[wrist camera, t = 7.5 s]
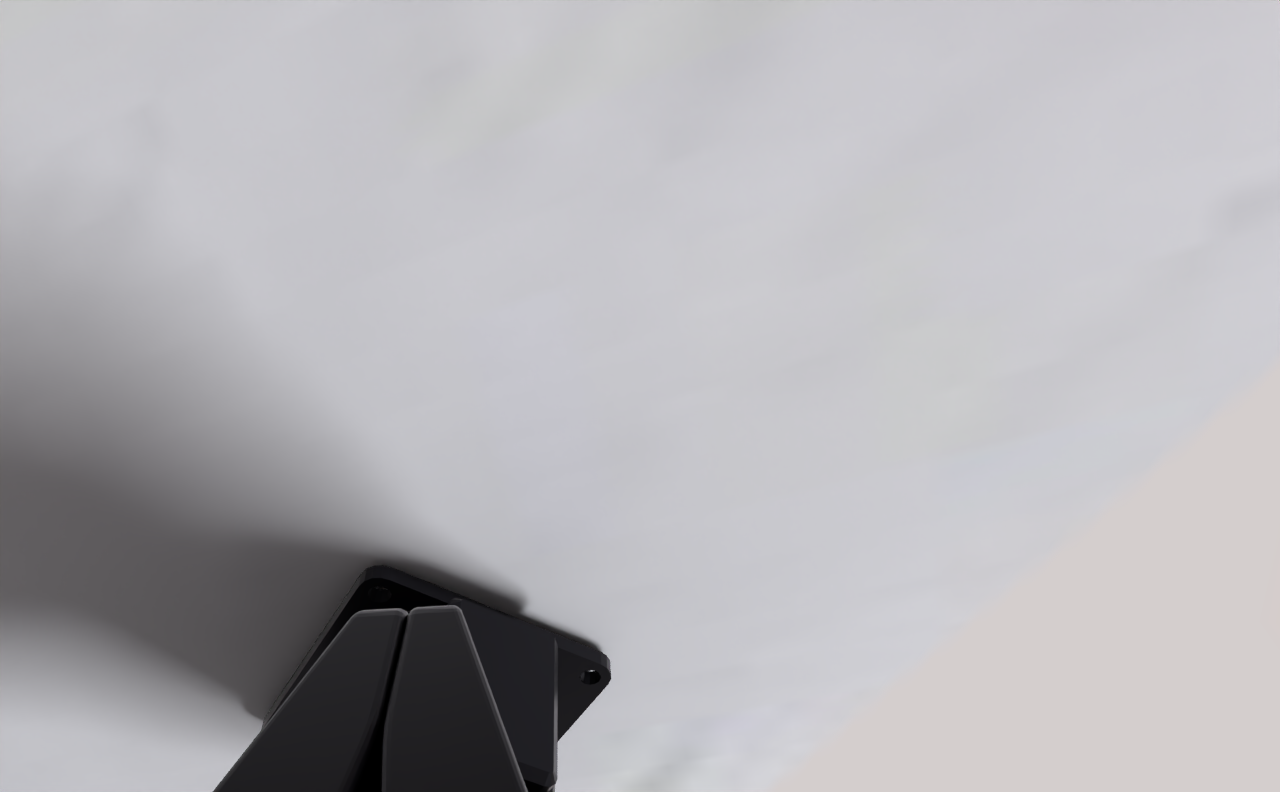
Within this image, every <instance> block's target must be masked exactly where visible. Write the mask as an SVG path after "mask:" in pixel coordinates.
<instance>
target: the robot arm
mask: <svg viewBox="0 0 1280 792" xmlns="http://www.w3.org/2000/svg"><path fill="white" fill-rule="evenodd" d="M375 586H383V587H386V588H387V589H386V590H379V589H376V588H374V587H375ZM587 670H595V671H593V672H586V671H587ZM610 680H611V671H610V660H609V658H608V657H607V656H606V655H605V654H603V653H602V652H599V651H597V650H594V649H592V648H590V647H587V646H585V645H582V644H580V643H577V642H575V641H572V640H570V639H567V638H565V637H562V636H560V635H557V634H555V633H552V632H550V631H547V630H545V629H543V628H540V627H538V626H535V625H533V624H530V623H528V622H525V621H523V620H520V619H518V618H515V617H513V616H510V615H508V614H505V613H503V612H500V611H498V610H496V609H493V608H491V607H488V606H486V605H483V604H481V603H478V602H476V601H473V600H471V599H468V598H466V597H463V596H461V595H458V594H456V593H453V592H451V591H448V590H446V589H444V588H441V587H439V586H436V585H434V584H431V583H429V582H426V581H424V580H421V579H419V578H416V577H414V576H411V575H409V574H406V573H404V572H401V571H399V570H397V569H394V568H392V567H387V566H383V565H382V566H373V567H370V568H367V569H366V570H365V571H364V572H363V573H362V574H361V575H360V577H359V578H358V580H357V581H356V583H355V584H354V585H353V587H352V588H351V590H350V591H349V593H348V594H347V596H346V597H345V599H344V600H343V602H342V603H341V605H340V606H339V608H338V609H337V611H336V612H335V614H334V615H333V617H332V618H331V620H330V621H329V623H328V624H327V626H326V627H325V629H324V630H323V632H322V633H321V635H320V636H319V638H318V639H317V641H316V642H315V644H314V645H313V647H312V648H311V650H310V651H309V653H308V654H307V656H306V657H305V659H304V660H303V662H302V663H301V664H300V666H299V667H298V669H297V670H296V672H295V673H294V675H293V676H292V678H291V679H290V681H289V682H288V684H287V685H286V687H285V688H284V690H283V691H282V693H281V694H280V696H279V697H278V699H277V700H276V702H275V703H274V705H273V706H272V708H271V709H270V711H269V712H268V714H267V715H266V717H265V719H264V722H263V726H262V730H261V732H260V733H259V734H258V735H257V737H256V738H255V739H254V740H253V742H252V743H251V744H250V745H249V747H248V748H247V749H246V750H245V752H244V753H243V754H242V756H241V757H240V758H239V759H238V761H237V762H236V763H235V764H234V766H233V767H232V768H231V769H230V771H229V772H228V773H227V775H226V776H225V777H224V778H223V780H222V781H221V782H220V783H219V785H218V786H217V787H216V788H215V790H214V791H213V792H555V784H556V781H557V742H558V741H559V739H560V738H561V737H562V736H563V735H564V734H565V733H566V732H567V730H568V729H569V728H570V727H571V726H572V725H573V724H574V722H575V721H576V720H577V719H578V718H579V717H580V716H581V714H582V713H583V712H584V711H585V710H586V709H587V708H588V706H589V705H590V704H591V703H592V702H593V701H594V700H595V699H596V697H597V696H598V695H599V694H600V693H601V692H602V691H603V689H604V688H605V687H606V686H607V685H608V683H609V682H610Z"/></svg>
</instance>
